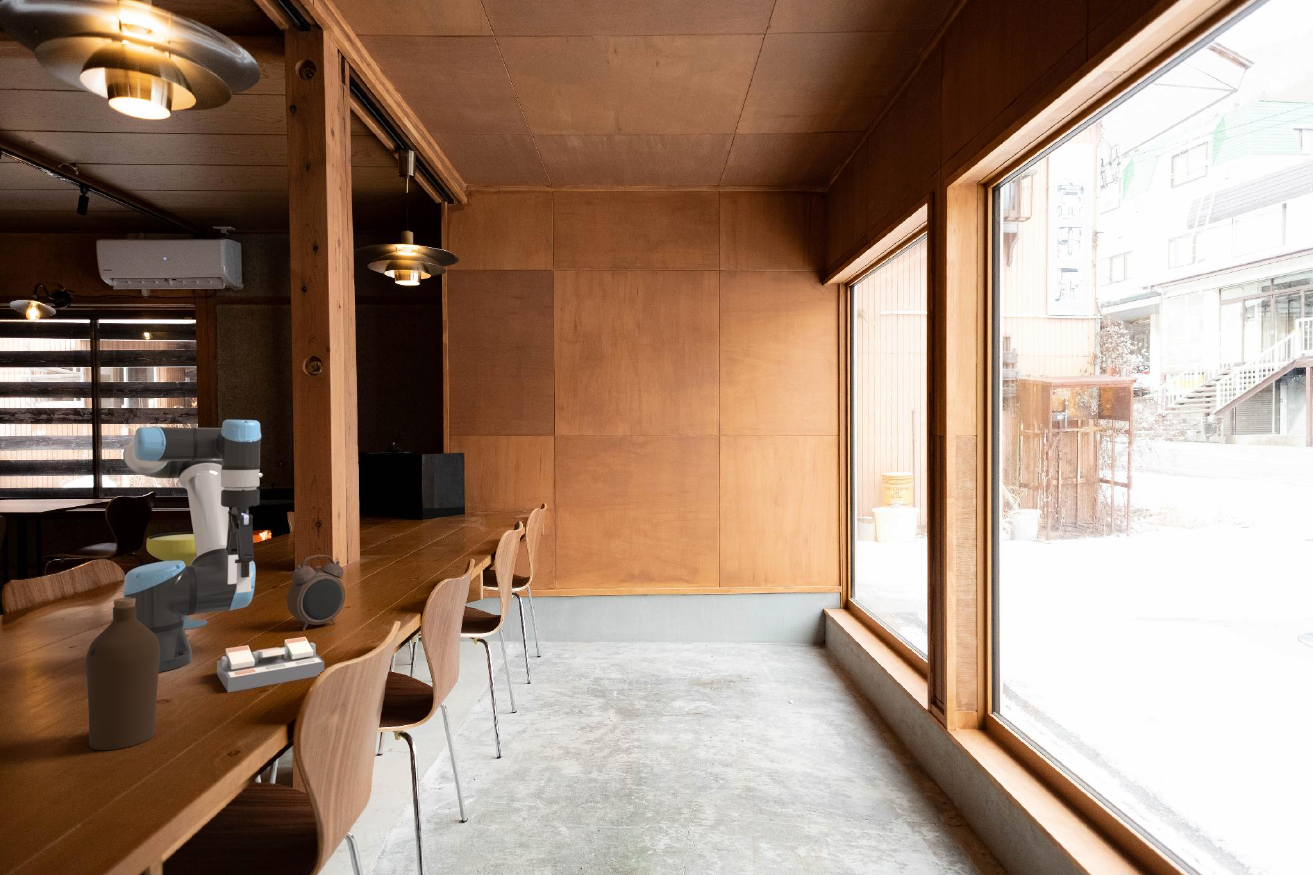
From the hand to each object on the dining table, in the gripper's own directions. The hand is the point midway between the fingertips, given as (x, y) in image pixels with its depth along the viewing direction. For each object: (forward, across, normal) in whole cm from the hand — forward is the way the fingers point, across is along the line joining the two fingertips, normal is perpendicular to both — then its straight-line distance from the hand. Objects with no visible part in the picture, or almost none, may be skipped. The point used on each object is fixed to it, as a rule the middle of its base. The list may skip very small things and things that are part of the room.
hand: (239, 587), depth 163 cm
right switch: (+15, -3, -12) cm, 19 cm away
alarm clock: (+20, +32, -25) cm, 45 cm away
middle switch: (+15, -3, -6) cm, 16 cm away
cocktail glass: (+20, +54, +4) cm, 58 cm away
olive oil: (+20, -26, +22) cm, 39 cm away
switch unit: (+20, -4, -6) cm, 21 cm away
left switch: (+15, -3, 0) cm, 15 cm away
